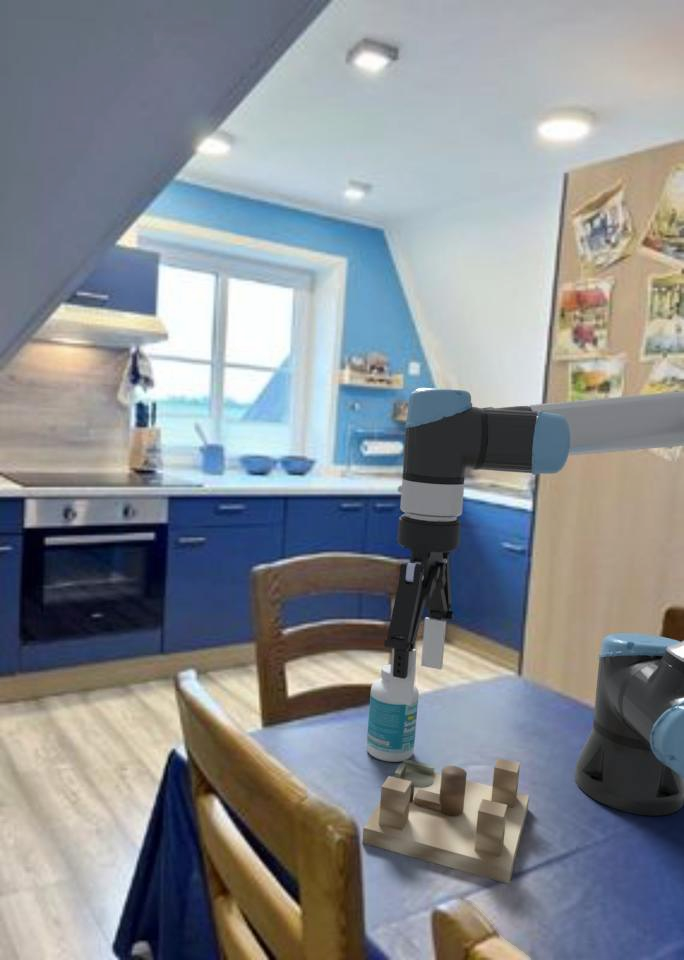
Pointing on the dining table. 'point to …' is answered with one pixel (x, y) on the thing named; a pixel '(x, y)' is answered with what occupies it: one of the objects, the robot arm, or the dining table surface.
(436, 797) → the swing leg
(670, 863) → the dining table surface
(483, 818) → the stool seat
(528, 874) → the dining table surface
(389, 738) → the pill bottle
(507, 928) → the dining table surface
